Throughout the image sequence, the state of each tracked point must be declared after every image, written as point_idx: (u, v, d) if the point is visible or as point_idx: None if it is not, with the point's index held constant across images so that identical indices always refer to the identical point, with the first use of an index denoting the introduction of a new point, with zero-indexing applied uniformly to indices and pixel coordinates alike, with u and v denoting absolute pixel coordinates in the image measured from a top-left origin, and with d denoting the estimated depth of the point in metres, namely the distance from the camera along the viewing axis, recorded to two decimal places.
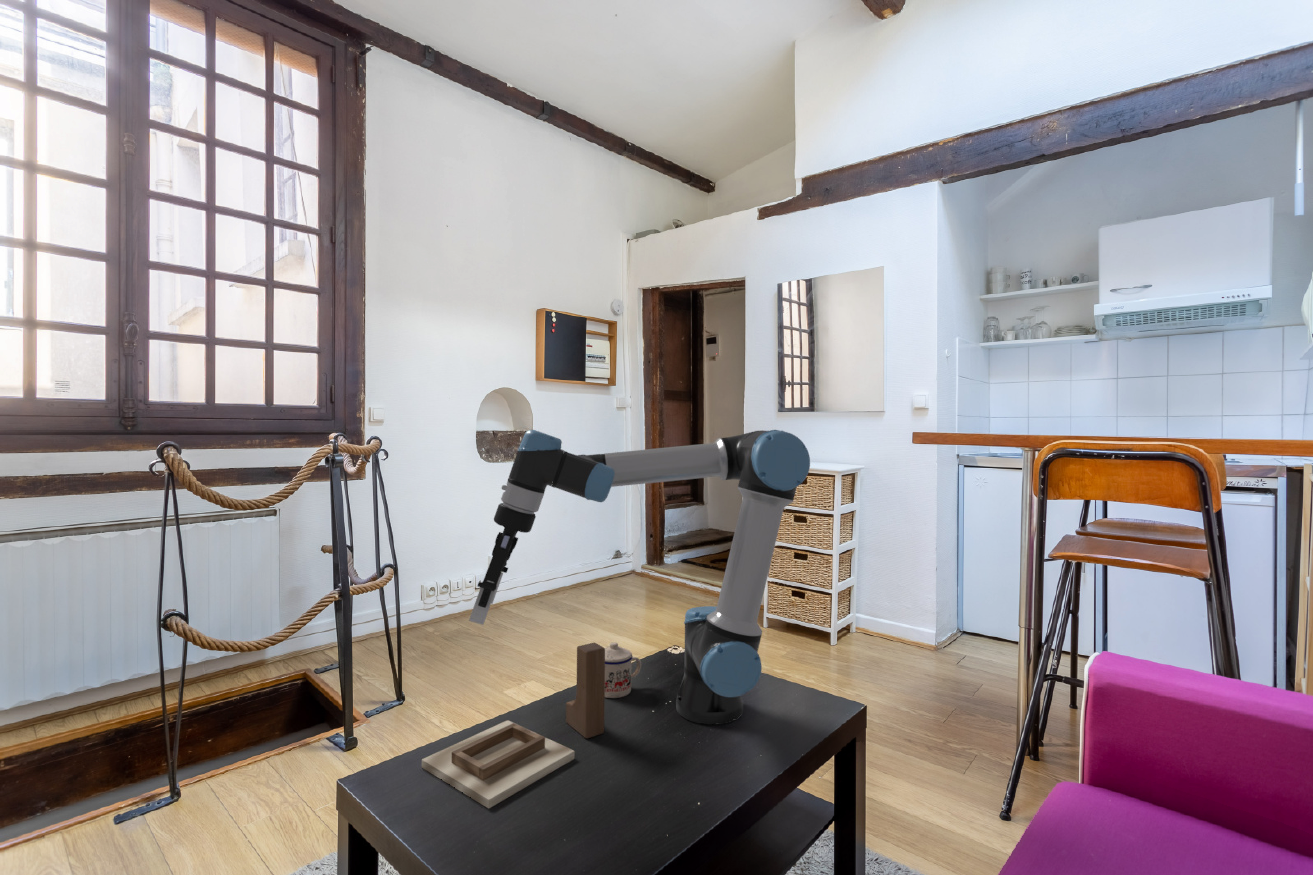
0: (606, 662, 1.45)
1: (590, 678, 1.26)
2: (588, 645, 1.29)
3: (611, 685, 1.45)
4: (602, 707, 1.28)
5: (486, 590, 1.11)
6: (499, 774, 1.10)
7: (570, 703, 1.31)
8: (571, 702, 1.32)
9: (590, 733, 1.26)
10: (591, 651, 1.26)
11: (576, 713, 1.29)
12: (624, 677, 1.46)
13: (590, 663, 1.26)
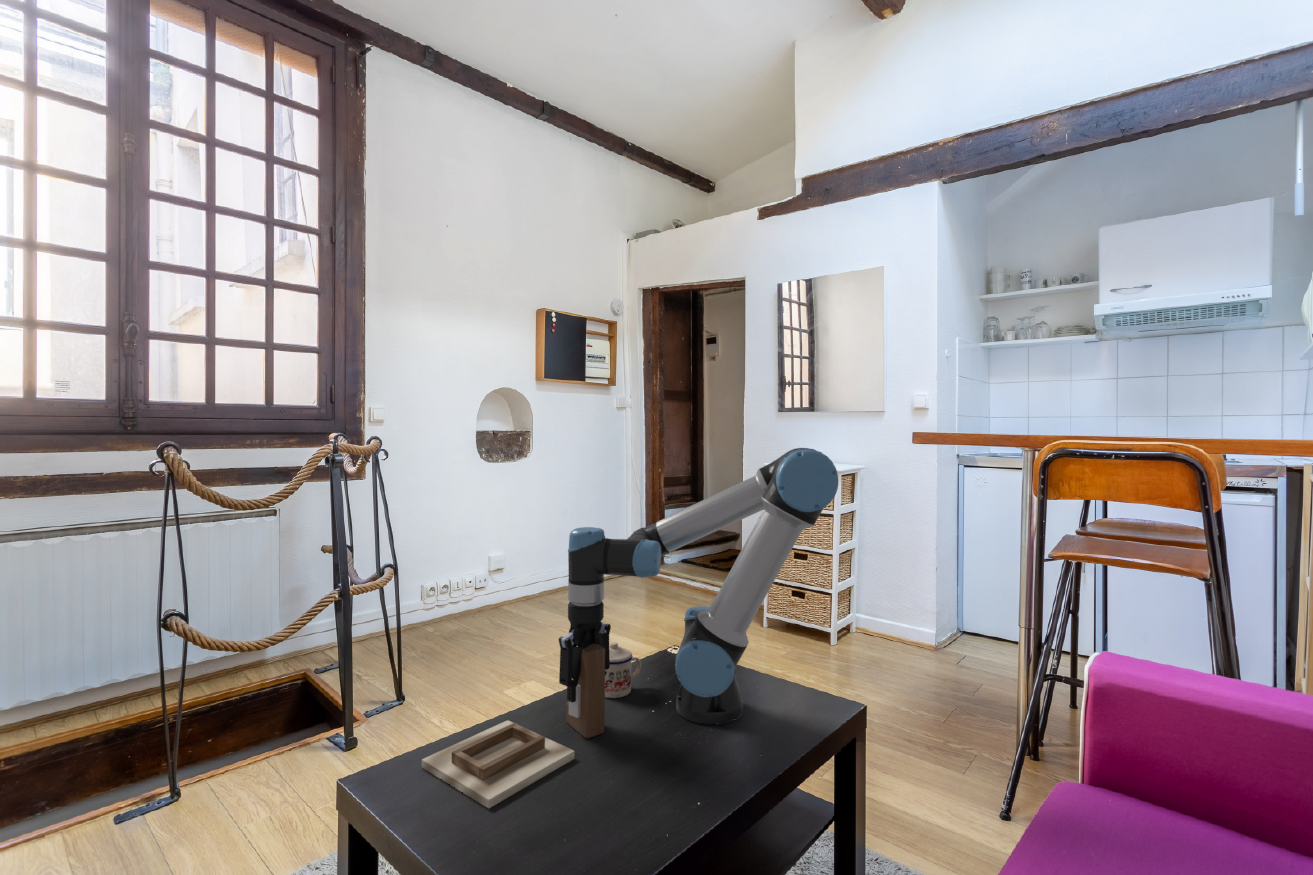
0: None
1: (590, 678, 1.26)
2: (588, 645, 1.29)
3: (611, 685, 1.45)
4: (602, 707, 1.28)
5: (568, 686, 1.27)
6: (499, 774, 1.10)
7: None
8: None
9: (590, 733, 1.26)
10: (591, 651, 1.26)
11: None
12: (624, 677, 1.46)
13: (590, 663, 1.26)
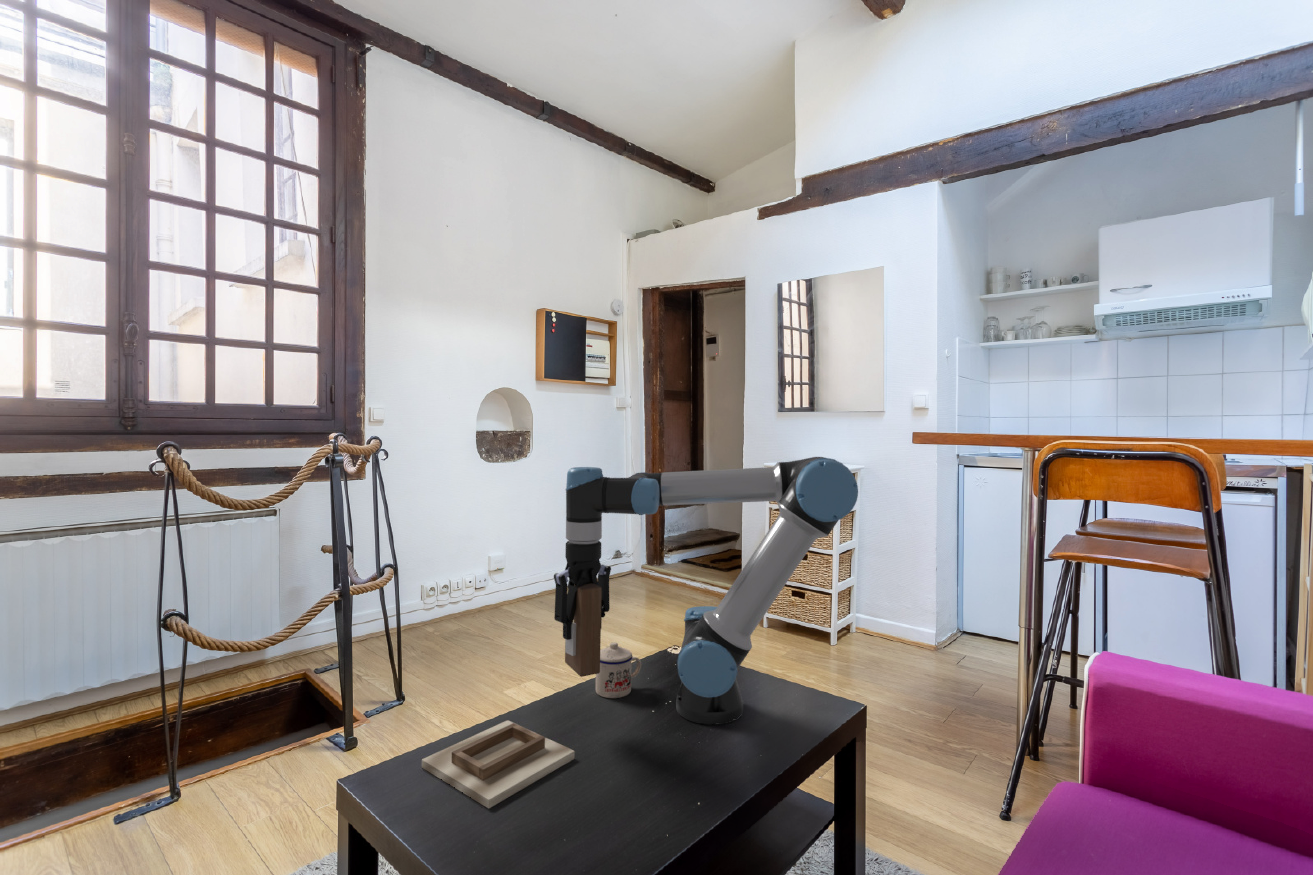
0: (606, 662, 1.45)
1: (585, 616, 1.25)
2: (585, 584, 1.28)
3: (611, 685, 1.45)
4: (598, 647, 1.26)
5: (564, 624, 1.26)
6: (499, 774, 1.10)
7: None
8: None
9: (585, 671, 1.25)
10: (586, 589, 1.25)
11: None
12: (624, 677, 1.46)
13: (585, 601, 1.25)
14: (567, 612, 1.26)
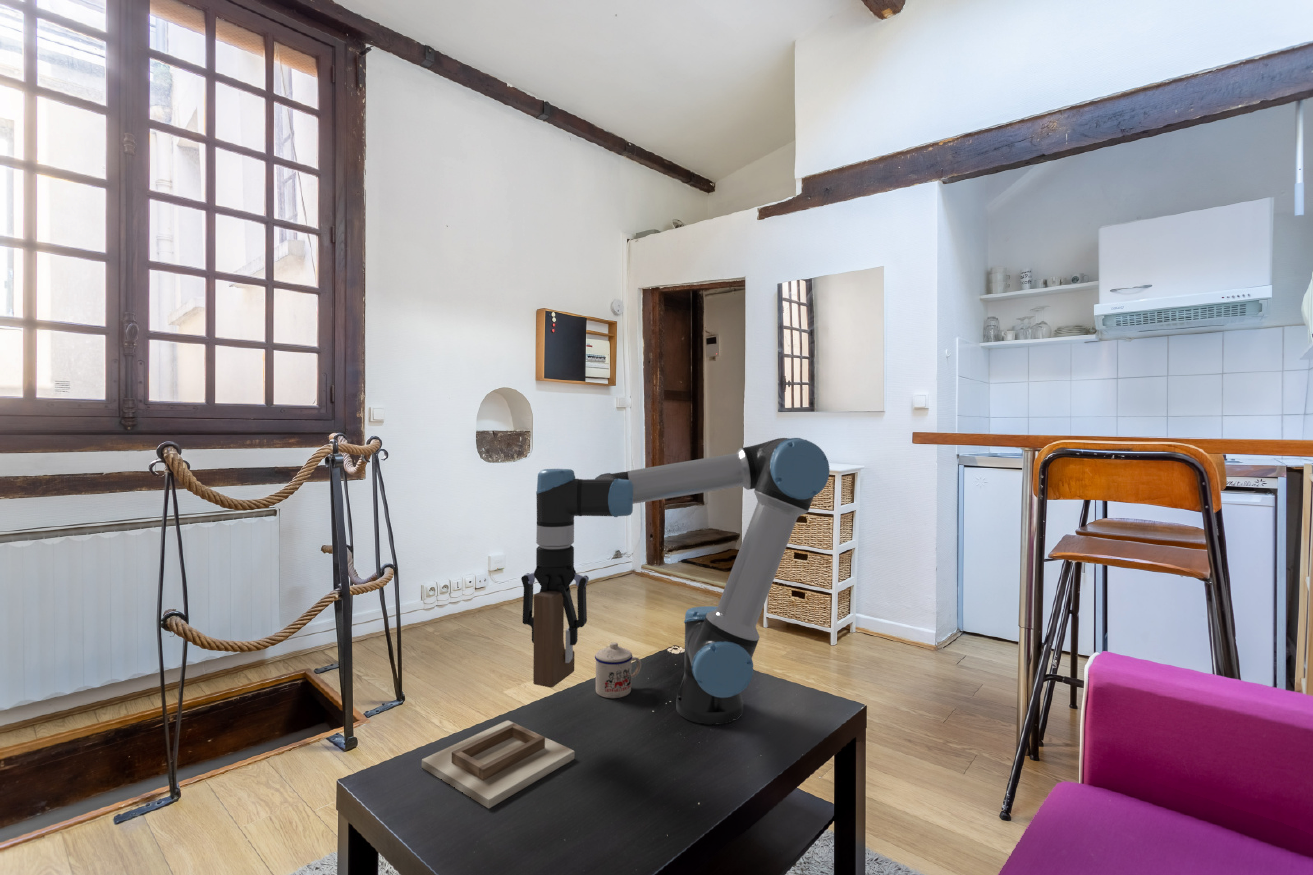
0: (606, 662, 1.45)
1: (536, 623, 1.21)
2: (551, 591, 1.23)
3: (611, 685, 1.45)
4: (549, 659, 1.20)
5: None
6: (499, 774, 1.10)
7: None
8: None
9: (536, 680, 1.21)
10: (538, 595, 1.21)
11: None
12: (624, 677, 1.46)
13: (536, 607, 1.21)
14: None
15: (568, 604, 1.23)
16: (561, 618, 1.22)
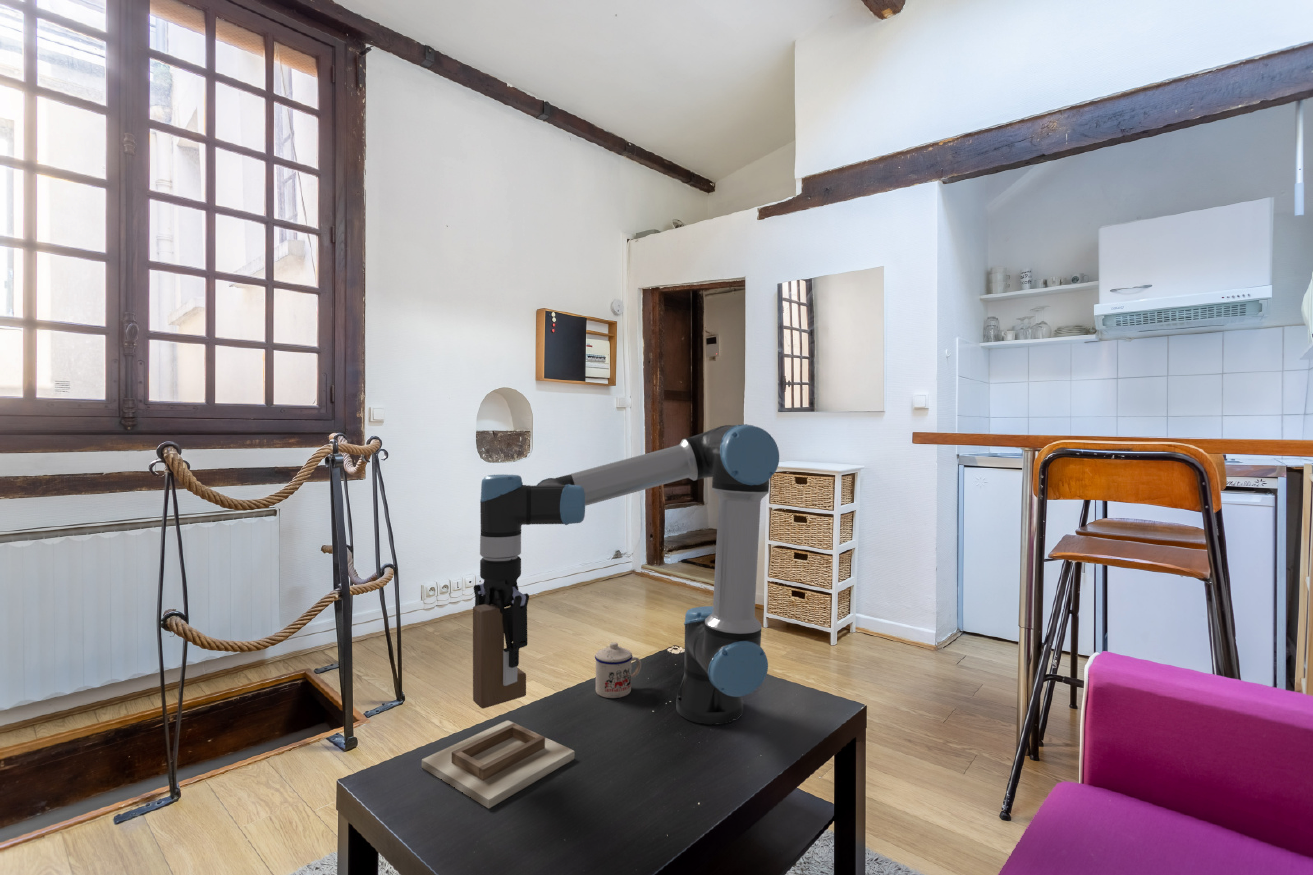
0: (606, 662, 1.45)
1: (473, 636, 1.14)
2: (493, 605, 1.15)
3: (611, 685, 1.45)
4: (480, 678, 1.12)
5: None
6: (499, 774, 1.10)
7: None
8: None
9: (474, 697, 1.14)
10: (474, 607, 1.14)
11: None
12: (624, 677, 1.46)
13: (473, 620, 1.14)
14: None
15: (506, 622, 1.13)
16: (499, 636, 1.14)
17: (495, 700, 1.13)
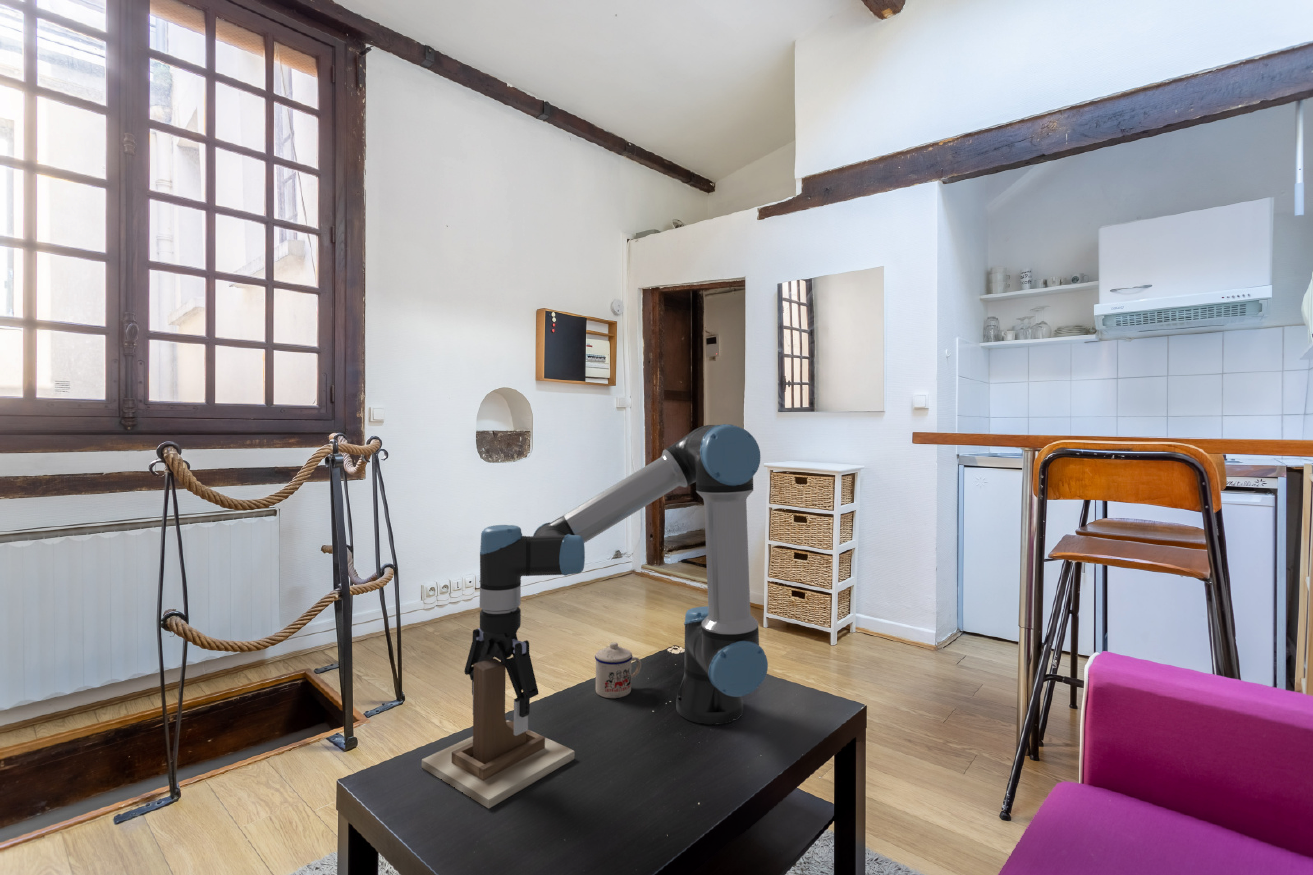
0: (606, 662, 1.45)
1: (474, 694, 1.14)
2: (494, 662, 1.15)
3: (611, 685, 1.45)
4: (481, 736, 1.12)
5: None
6: (499, 774, 1.10)
7: None
8: (510, 721, 1.20)
9: (474, 755, 1.14)
10: (476, 665, 1.14)
11: None
12: (624, 677, 1.46)
13: (474, 677, 1.14)
14: None
15: (511, 672, 1.12)
16: (500, 693, 1.14)
17: (496, 757, 1.14)
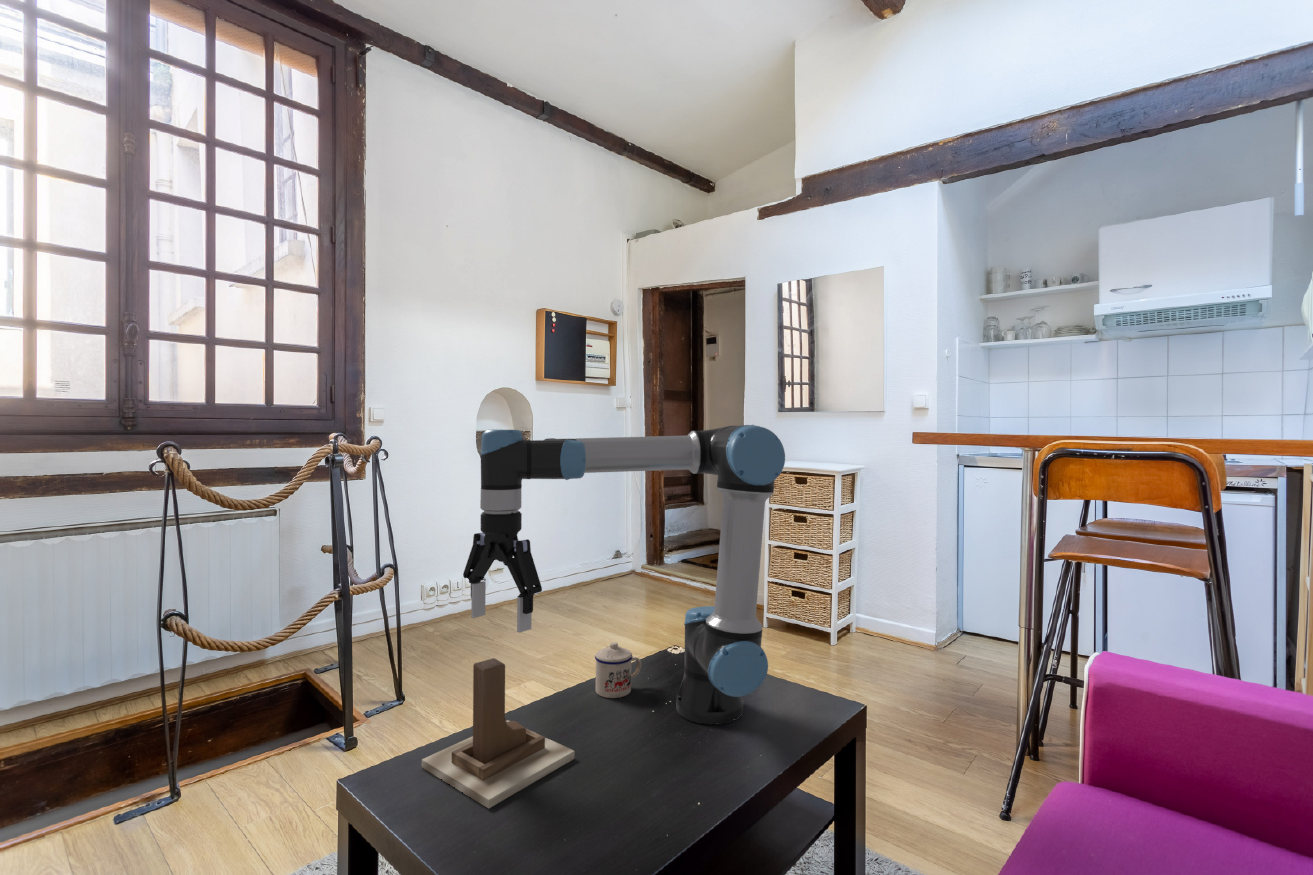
0: (606, 662, 1.45)
1: (474, 694, 1.14)
2: (493, 662, 1.15)
3: (611, 685, 1.45)
4: (481, 736, 1.12)
5: None
6: (499, 774, 1.10)
7: None
8: (509, 722, 1.20)
9: (474, 755, 1.14)
10: (475, 665, 1.14)
11: None
12: (624, 677, 1.46)
13: (474, 677, 1.14)
14: None
15: (513, 570, 1.12)
16: (500, 693, 1.14)
17: (496, 757, 1.14)
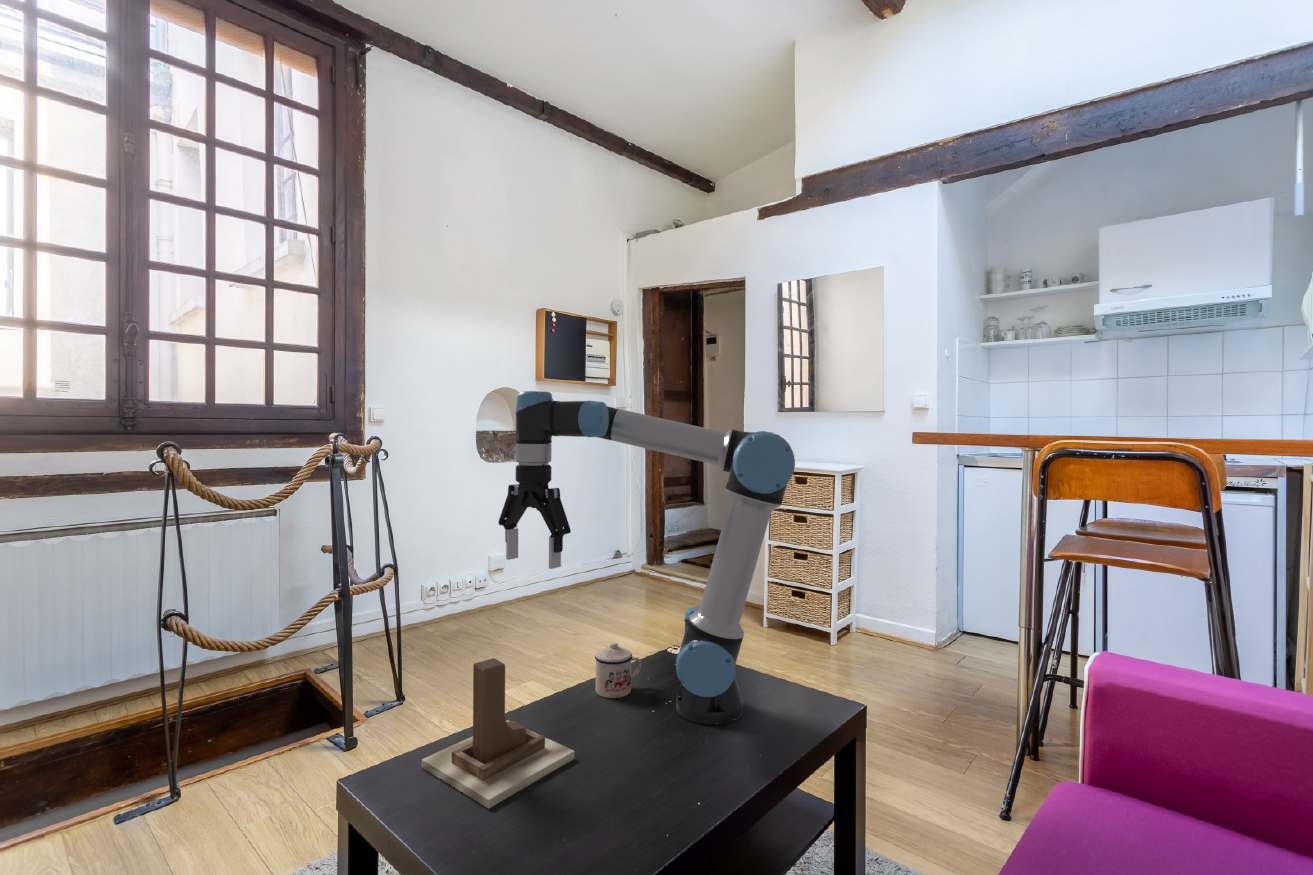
0: (606, 662, 1.45)
1: (474, 694, 1.14)
2: (493, 662, 1.15)
3: (611, 685, 1.45)
4: (481, 736, 1.12)
5: None
6: (499, 774, 1.10)
7: None
8: (509, 722, 1.20)
9: (474, 755, 1.14)
10: (475, 665, 1.14)
11: None
12: (624, 677, 1.46)
13: (474, 677, 1.14)
14: None
15: (545, 514, 1.27)
16: (500, 693, 1.14)
17: (496, 757, 1.14)
